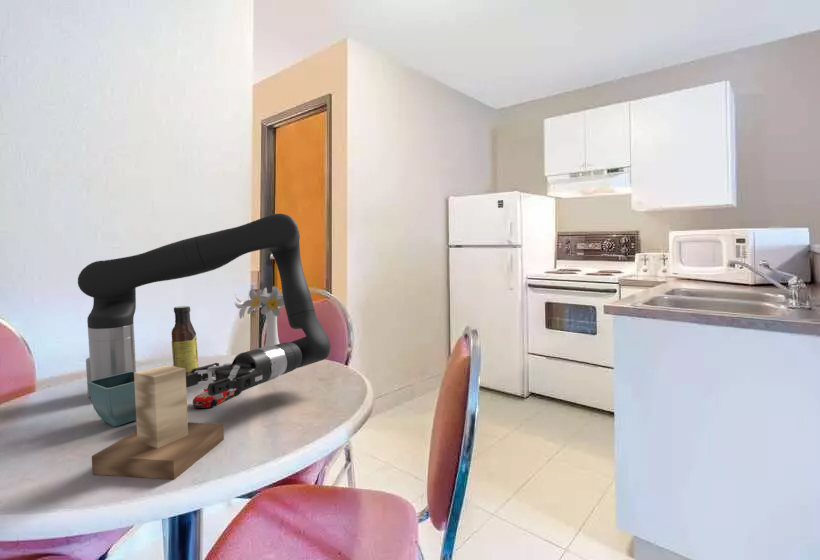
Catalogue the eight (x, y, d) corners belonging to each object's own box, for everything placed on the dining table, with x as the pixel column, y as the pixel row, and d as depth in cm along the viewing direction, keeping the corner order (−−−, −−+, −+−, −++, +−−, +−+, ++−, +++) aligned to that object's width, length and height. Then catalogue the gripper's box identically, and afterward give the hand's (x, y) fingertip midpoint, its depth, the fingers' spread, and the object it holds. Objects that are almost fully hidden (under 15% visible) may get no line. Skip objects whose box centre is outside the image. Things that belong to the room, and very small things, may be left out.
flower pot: (108, 433, 82) (106, 388, 82) (88, 423, 87) (86, 381, 86) (155, 418, 90) (153, 376, 89) (134, 410, 95) (132, 370, 94)
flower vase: (236, 369, 127) (233, 286, 125) (299, 362, 134) (297, 284, 132) (237, 381, 115) (234, 290, 113) (306, 373, 122) (304, 287, 120)
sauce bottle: (203, 375, 121) (200, 306, 120) (181, 380, 116) (178, 308, 114) (190, 371, 124) (187, 304, 123) (168, 377, 119) (165, 307, 118)
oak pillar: (137, 441, 72) (133, 372, 71) (168, 429, 77) (165, 364, 76) (157, 448, 70) (154, 376, 69) (188, 435, 75) (185, 368, 74)
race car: (206, 412, 94) (205, 394, 94) (187, 409, 96) (186, 392, 95) (246, 393, 106) (246, 377, 106) (229, 390, 108) (228, 375, 108)
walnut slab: (92, 474, 67) (91, 456, 67) (155, 435, 81) (154, 420, 81) (174, 479, 66) (173, 460, 66) (223, 439, 80) (223, 423, 79)
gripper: (237, 345, 96) (168, 362, 81) (284, 352, 89) (219, 371, 75) (238, 378, 96) (170, 400, 82) (285, 386, 90) (220, 413, 75)
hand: (193, 386), depth 78 cm, fingers open, 8 cm apart
